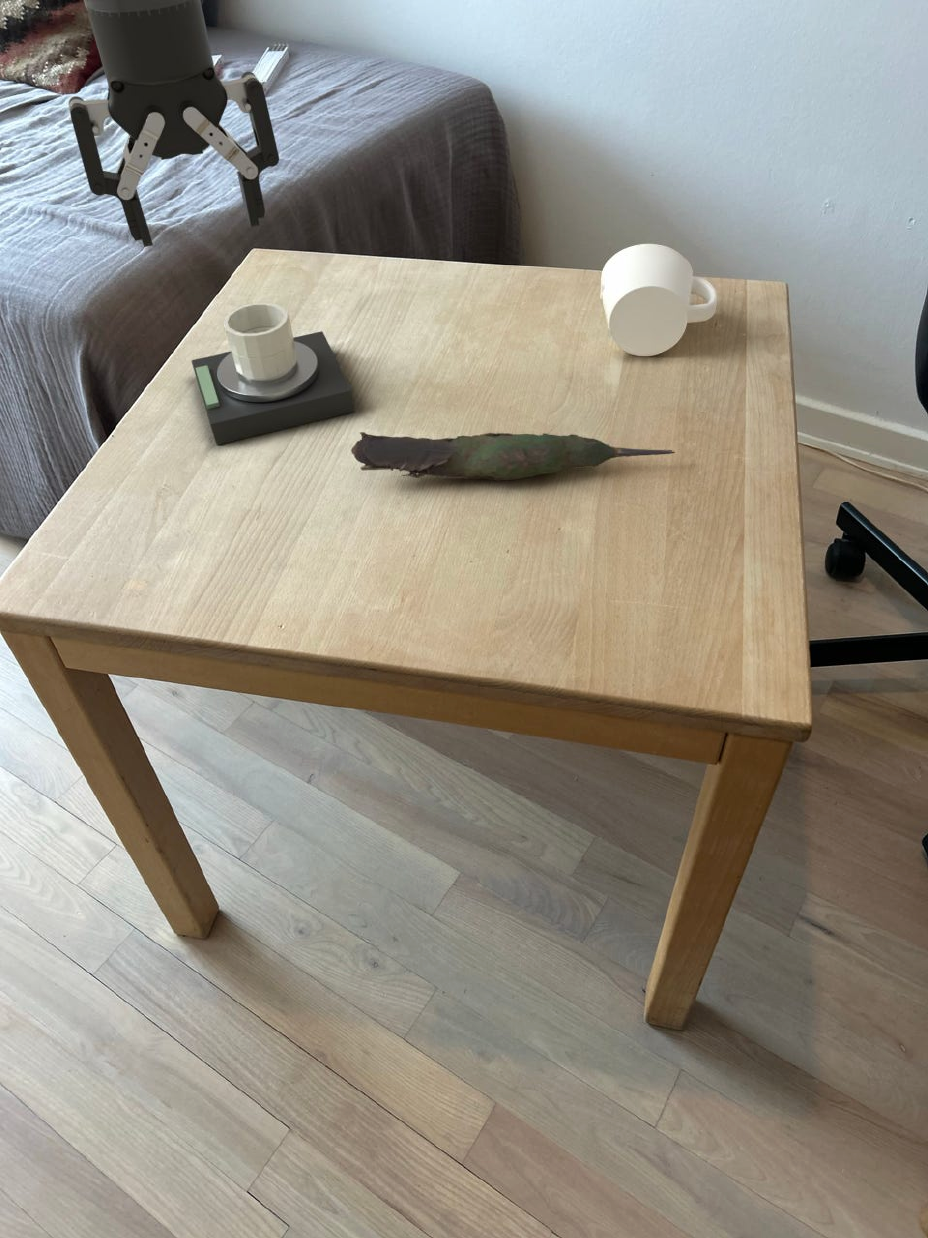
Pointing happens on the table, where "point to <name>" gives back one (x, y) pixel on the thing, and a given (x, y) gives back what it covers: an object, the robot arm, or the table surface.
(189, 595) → the table surface
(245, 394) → the pan
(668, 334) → the mug
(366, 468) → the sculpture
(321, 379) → the scale
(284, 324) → the white cup
